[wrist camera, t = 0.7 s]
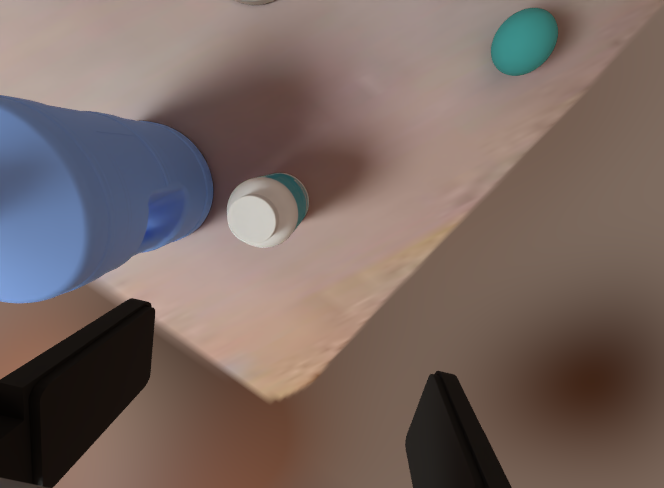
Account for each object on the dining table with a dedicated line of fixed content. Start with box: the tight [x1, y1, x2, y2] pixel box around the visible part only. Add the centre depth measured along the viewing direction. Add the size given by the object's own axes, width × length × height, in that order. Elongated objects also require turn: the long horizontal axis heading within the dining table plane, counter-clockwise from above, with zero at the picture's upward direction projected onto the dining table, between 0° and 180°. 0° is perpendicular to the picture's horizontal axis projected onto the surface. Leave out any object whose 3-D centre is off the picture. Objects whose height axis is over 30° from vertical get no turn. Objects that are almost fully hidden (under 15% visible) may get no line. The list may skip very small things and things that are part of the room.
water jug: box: [0, 95, 213, 303], centre depth 29 cm, size 16×16×28 cm
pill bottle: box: [227, 173, 309, 248], centre depth 35 cm, size 8×7×14 cm
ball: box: [491, 8, 558, 76], centre depth 33 cm, size 6×6×6 cm
